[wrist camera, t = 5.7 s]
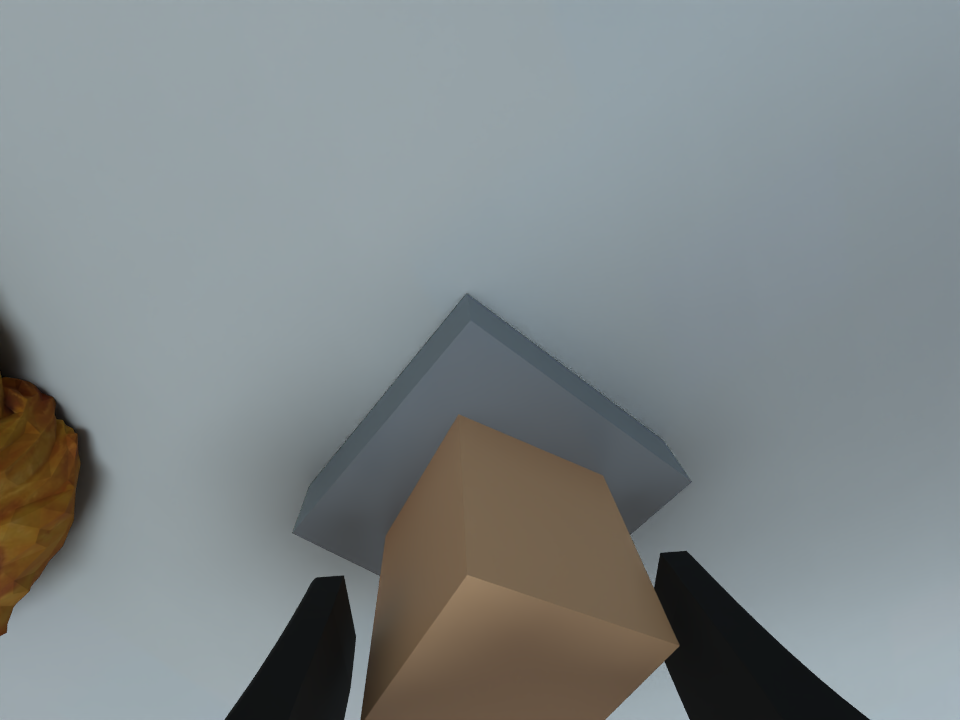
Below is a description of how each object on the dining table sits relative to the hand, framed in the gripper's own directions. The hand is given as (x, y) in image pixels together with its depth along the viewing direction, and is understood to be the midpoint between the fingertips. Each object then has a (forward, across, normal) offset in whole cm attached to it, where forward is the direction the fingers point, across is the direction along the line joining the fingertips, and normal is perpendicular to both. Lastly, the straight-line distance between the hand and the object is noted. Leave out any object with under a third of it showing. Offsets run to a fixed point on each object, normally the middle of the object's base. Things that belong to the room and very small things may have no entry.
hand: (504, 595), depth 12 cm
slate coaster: (+5, 0, 0) cm, 5 cm away
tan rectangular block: (+3, 0, 0) cm, 3 cm away
